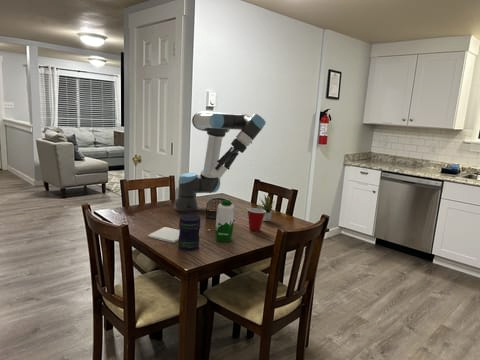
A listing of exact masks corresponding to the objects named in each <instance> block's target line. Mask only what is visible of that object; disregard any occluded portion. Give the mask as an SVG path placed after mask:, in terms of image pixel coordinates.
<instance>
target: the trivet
mask: <svg viewBox="0 0 480 360" xmlns="http://www.w3.org/2000/svg"><path fill="white" fill-rule="evenodd" d="M179 232H180V229H176V228H172V227H167V226H164V227H161V228H160V229H157V230H155V231H153V232H151V233H149V234H148V235H147V237H148V238H151V239H155V240H160V241H163V242H168V243H171V244H172V243H173V244H175V243H176V242H178V239H179Z"/></svg>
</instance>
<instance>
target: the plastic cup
mask: <svg viewBox="0 0 480 360" xmlns="http://www.w3.org/2000/svg"><path fill="white" fill-rule="evenodd" d="M263 209H264V208H256V207H249V208H246V210H247V217H248V225H249V227H248V228H249V230H250V231H251V230H252V231H251V232H255V231H257V232H260V231H261V227H262V223H263V217H264V214H265V213H266V211H265V210H263ZM259 230H260V231H259Z"/></svg>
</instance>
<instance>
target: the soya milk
mask: <svg viewBox="0 0 480 360" xmlns="http://www.w3.org/2000/svg"><path fill="white" fill-rule="evenodd" d="M234 217H235V205H234V204H232V203H231V200H229V199H223V200H222V202H221V203H218V206H217V208H216V220H215V240H216V241H215V242H219V243H220V242H222V243H231V239H232V237H233V233H234V232H233V230H234V222H235V221H234V220H235V219H234Z"/></svg>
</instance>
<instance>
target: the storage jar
mask: <svg viewBox="0 0 480 360" xmlns="http://www.w3.org/2000/svg"><path fill="white" fill-rule="evenodd" d="M201 218H202V217H201V216H200V215H197V214H193V213H191V214H190V213H186V214H185V213H183V214H181V215H180V216H179V222H178V225H179V226H178V228H179V229H178V230H180V232H179V239H178V241H177V242H178V244H177V245H178V246H177V247H178V250H181V251H183V252H195V251H197V250H199V248H200V230H201Z"/></svg>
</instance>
